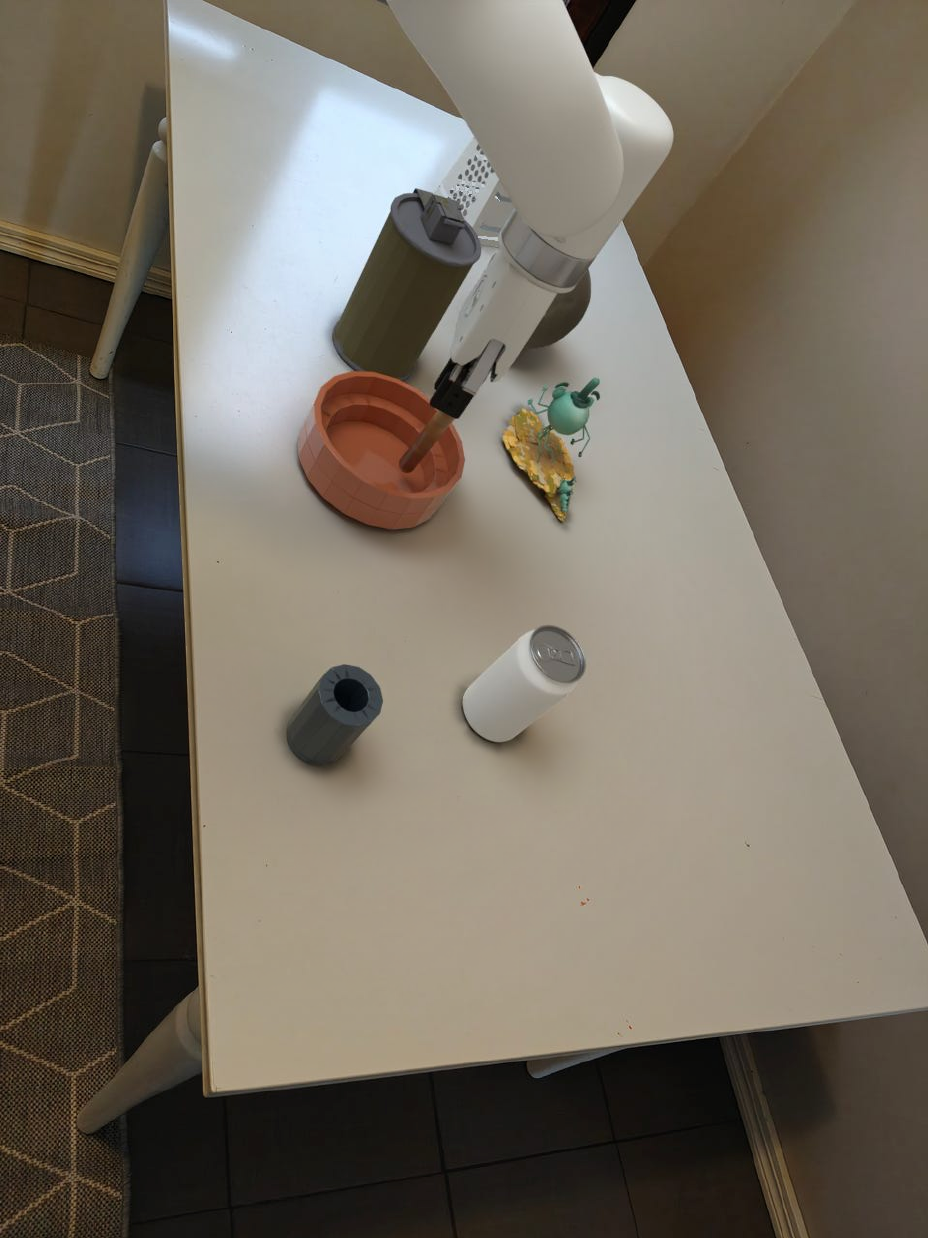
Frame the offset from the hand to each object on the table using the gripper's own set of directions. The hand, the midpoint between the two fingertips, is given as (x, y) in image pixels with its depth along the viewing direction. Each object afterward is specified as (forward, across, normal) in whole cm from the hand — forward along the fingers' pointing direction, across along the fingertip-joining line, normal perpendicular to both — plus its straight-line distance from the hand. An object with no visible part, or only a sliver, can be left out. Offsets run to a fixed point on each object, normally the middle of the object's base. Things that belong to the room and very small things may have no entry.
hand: (446, 401), depth 82 cm
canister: (+13, -19, -7) cm, 24 cm away
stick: (+10, 0, 0) cm, 10 cm away
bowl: (+12, 0, -3) cm, 13 cm away
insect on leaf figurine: (+13, -14, +16) cm, 25 cm away
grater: (+13, -59, +1) cm, 60 cm away
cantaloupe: (+13, -35, +9) cm, 38 cm away
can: (+13, +23, +15) cm, 30 cm away
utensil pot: (+12, +32, 0) cm, 34 cm away
